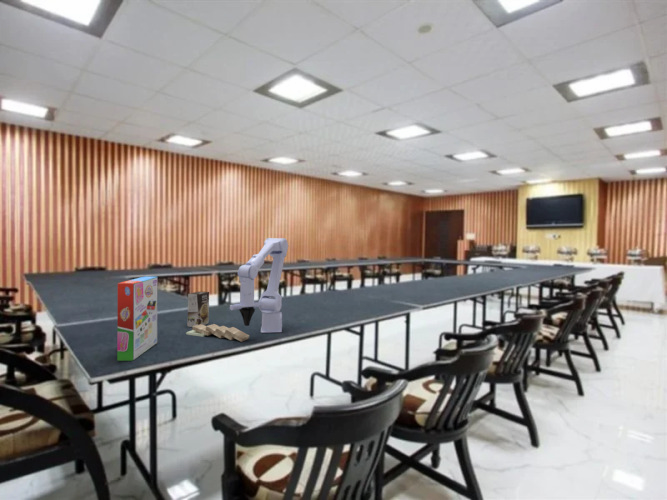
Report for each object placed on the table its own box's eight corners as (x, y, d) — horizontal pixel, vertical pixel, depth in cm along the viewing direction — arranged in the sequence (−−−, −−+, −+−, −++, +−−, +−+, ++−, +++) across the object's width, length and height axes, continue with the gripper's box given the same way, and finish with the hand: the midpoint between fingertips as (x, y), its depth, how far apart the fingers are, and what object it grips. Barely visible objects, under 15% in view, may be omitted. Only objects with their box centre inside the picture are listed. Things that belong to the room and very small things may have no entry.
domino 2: (216, 329, 159) (201, 324, 163) (208, 332, 155) (192, 326, 158) (215, 333, 159) (200, 327, 163) (207, 335, 155) (192, 329, 158)
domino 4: (239, 334, 155) (223, 325, 158) (232, 336, 151) (216, 328, 154) (238, 337, 155) (222, 328, 159) (231, 340, 151) (215, 331, 154)
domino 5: (249, 335, 153) (233, 326, 156) (242, 338, 149) (225, 329, 152) (248, 338, 153) (232, 330, 157) (241, 341, 149) (224, 332, 152)
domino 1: (210, 331, 160) (193, 329, 163) (203, 334, 155) (186, 332, 158) (210, 335, 160) (193, 333, 163) (203, 338, 155) (186, 335, 158)
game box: (143, 343, 143) (144, 276, 142) (157, 343, 144) (158, 276, 143) (116, 361, 123) (117, 282, 122) (133, 361, 123) (133, 282, 122)
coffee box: (198, 327, 170) (199, 294, 170) (186, 326, 172) (187, 293, 171) (209, 323, 179) (209, 291, 179) (197, 322, 180) (198, 290, 180)
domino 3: (229, 332, 157) (214, 323, 161) (221, 335, 153) (206, 326, 156) (228, 335, 157) (213, 327, 161) (220, 338, 153) (205, 329, 156)
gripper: (258, 291, 158) (258, 321, 159) (227, 293, 149) (226, 325, 150) (266, 293, 153) (265, 324, 153) (233, 295, 144) (233, 329, 144)
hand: (246, 325), depth 151 cm, fingers closed
